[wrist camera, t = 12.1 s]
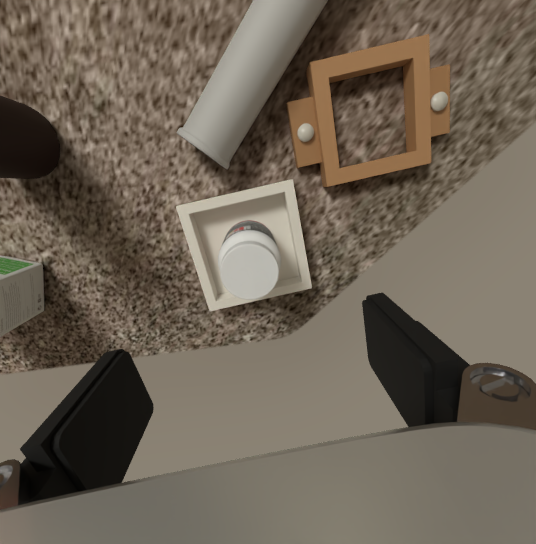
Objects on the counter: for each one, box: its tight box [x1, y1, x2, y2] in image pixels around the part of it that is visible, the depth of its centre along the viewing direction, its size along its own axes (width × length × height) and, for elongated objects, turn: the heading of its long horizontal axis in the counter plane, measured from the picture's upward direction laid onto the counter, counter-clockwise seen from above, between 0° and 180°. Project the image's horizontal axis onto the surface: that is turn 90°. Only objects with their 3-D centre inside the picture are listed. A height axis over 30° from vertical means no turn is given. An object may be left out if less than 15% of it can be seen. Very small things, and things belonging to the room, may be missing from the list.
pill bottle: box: [218, 220, 281, 300], centre depth 25 cm, size 6×6×10 cm
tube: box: [177, 0, 328, 169], centre depth 23 cm, size 5×5×25 cm
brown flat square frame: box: [286, 34, 450, 187], centre depth 26 cm, size 16×11×2 cm
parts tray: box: [176, 179, 312, 311], centre depth 29 cm, size 12×12×2 cm
